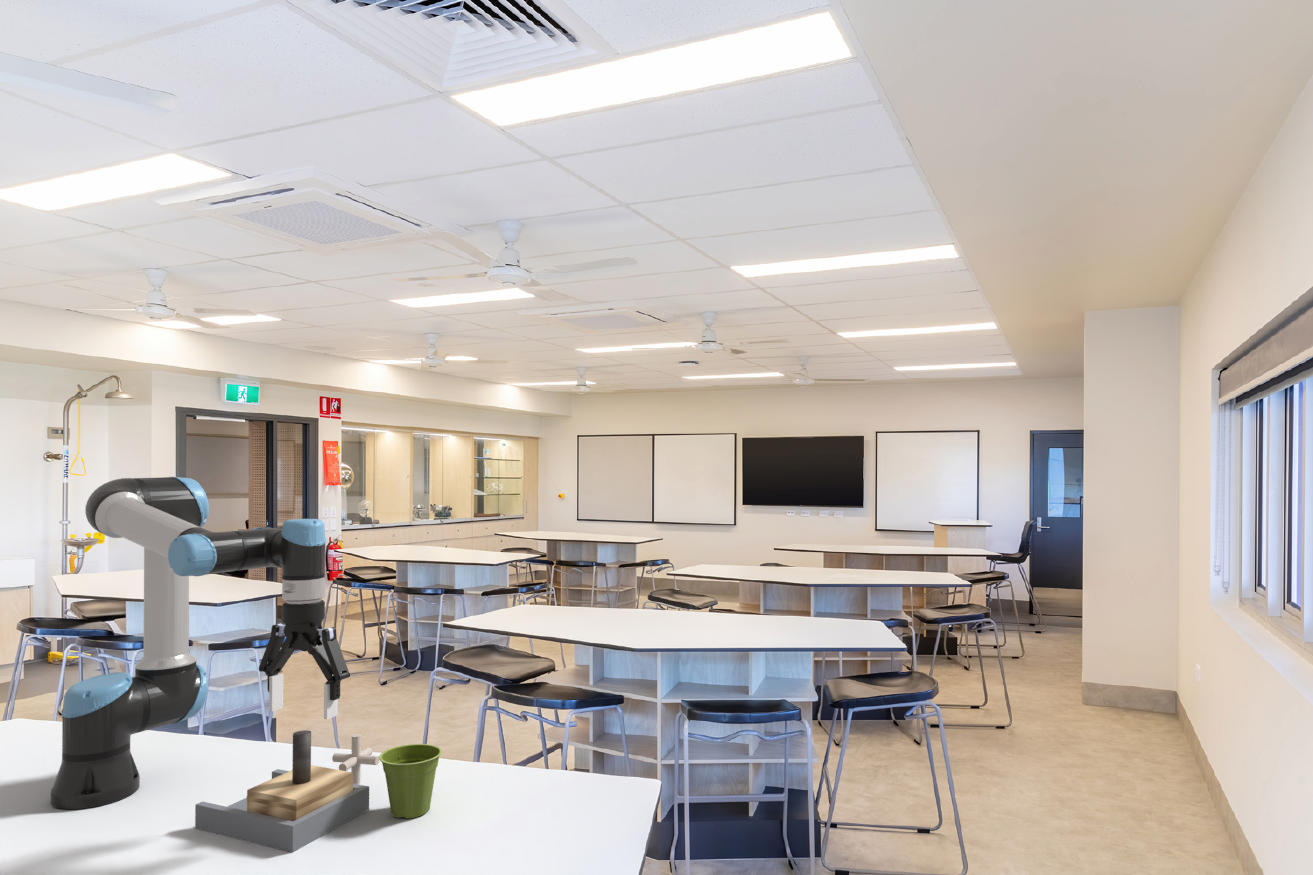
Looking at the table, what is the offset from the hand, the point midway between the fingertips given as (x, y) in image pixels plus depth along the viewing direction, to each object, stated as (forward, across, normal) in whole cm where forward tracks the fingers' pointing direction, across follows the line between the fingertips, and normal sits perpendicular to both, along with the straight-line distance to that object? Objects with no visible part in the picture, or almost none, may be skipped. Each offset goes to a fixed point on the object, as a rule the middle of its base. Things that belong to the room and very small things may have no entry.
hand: (303, 713), depth 157 cm
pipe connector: (+21, -5, +19) cm, 29 cm away
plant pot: (+21, +15, +12) cm, 29 cm away
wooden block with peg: (+19, 0, 0) cm, 19 cm away
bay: (+20, -5, 0) cm, 21 cm away
